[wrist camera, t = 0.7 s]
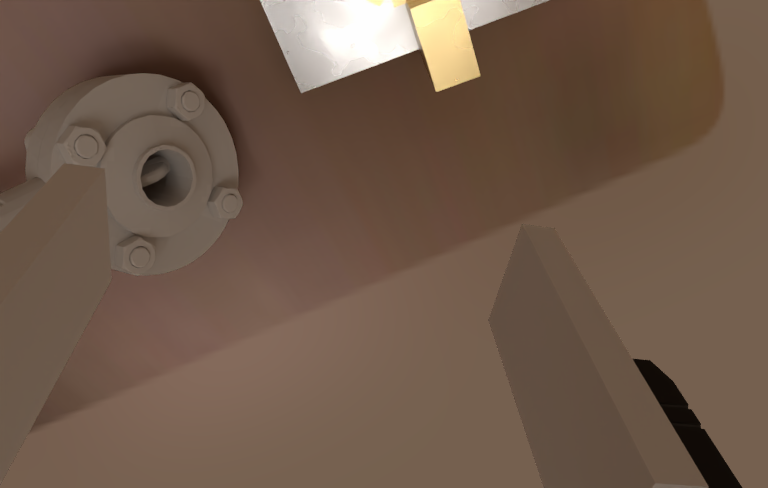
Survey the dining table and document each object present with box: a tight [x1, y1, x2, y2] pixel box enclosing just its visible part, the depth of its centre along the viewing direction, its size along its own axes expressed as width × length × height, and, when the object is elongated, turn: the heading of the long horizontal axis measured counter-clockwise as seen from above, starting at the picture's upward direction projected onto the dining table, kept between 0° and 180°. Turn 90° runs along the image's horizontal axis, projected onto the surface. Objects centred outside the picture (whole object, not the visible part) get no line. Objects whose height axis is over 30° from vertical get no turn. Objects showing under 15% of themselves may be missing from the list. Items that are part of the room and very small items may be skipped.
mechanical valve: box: [0, 73, 243, 276], centre depth 35 cm, size 10×18×15 cm
